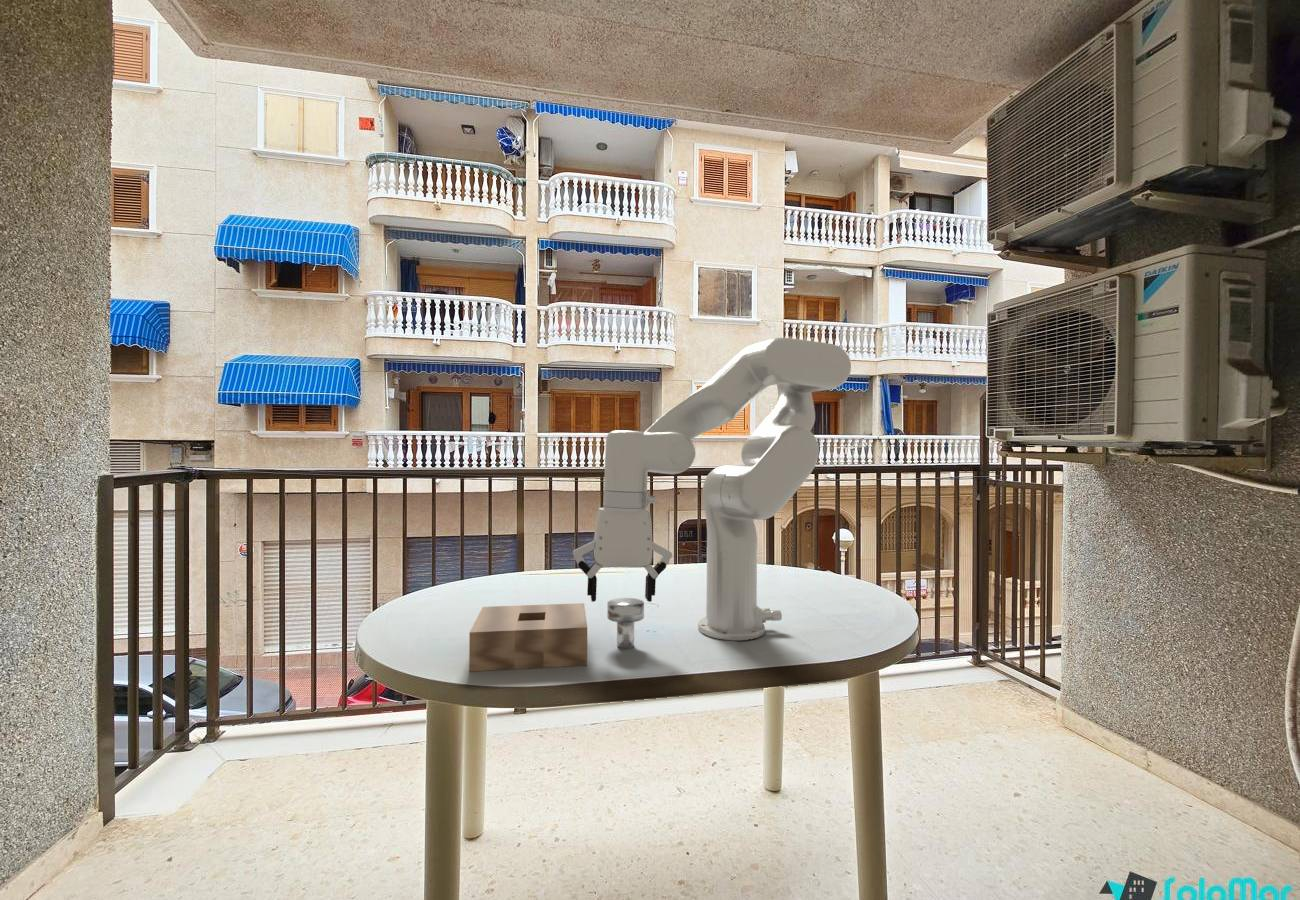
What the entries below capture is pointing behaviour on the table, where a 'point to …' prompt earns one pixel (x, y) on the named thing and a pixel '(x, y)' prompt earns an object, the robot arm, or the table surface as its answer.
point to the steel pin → (625, 618)
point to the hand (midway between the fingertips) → (621, 599)
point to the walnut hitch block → (528, 637)
